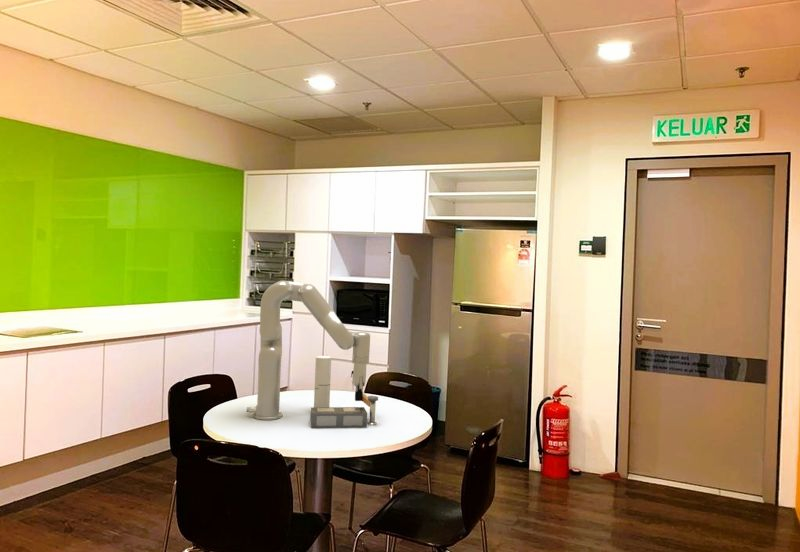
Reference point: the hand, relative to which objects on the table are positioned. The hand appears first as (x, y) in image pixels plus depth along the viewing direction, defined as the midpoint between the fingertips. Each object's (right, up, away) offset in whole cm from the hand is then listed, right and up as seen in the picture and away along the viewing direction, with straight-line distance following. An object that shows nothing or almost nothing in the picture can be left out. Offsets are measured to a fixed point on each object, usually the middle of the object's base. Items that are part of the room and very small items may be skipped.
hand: (358, 400), depth 271 cm
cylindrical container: (-18, -7, +8) cm, 21 cm away
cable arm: (+3, 0, -1) cm, 4 cm away
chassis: (-8, -7, -14) cm, 18 cm away
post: (+7, -8, -12) cm, 15 cm away
